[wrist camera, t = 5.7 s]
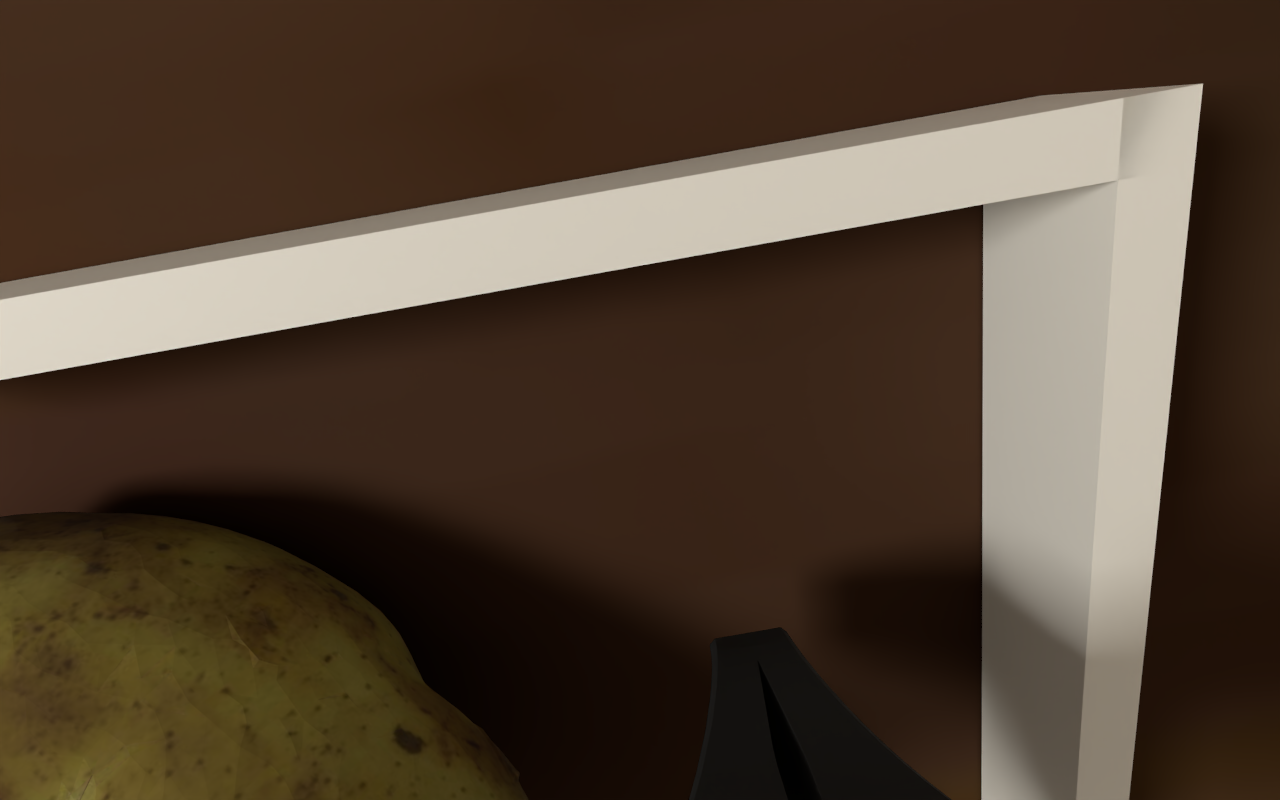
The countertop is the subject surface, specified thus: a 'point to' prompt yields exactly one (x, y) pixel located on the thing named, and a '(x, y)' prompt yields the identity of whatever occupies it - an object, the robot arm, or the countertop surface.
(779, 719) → the robot arm
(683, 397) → the countertop surface
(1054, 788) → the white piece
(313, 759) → the potato
